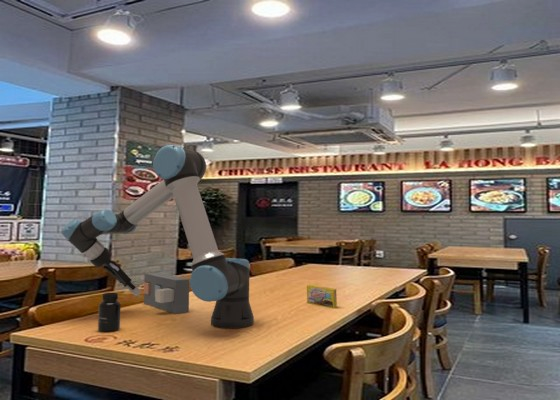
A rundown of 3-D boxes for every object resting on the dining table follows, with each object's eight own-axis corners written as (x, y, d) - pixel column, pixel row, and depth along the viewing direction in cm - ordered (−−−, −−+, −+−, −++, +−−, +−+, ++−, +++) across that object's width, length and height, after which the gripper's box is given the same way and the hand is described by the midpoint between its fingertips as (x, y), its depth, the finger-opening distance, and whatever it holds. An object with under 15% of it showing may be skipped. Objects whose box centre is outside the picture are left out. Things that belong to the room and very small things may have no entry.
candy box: (306, 303, 201) (306, 284, 201) (309, 303, 202) (309, 284, 203) (333, 309, 189) (333, 289, 189) (337, 308, 190) (337, 288, 191)
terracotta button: (148, 294, 194) (148, 283, 194) (143, 293, 197) (143, 282, 197) (165, 292, 199) (165, 282, 199) (160, 291, 202) (160, 280, 203)
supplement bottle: (96, 333, 146) (97, 295, 147) (99, 328, 153) (100, 292, 153) (119, 331, 148) (120, 294, 149) (120, 327, 155) (121, 291, 155)
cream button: (160, 303, 174) (160, 290, 174) (155, 301, 177) (155, 289, 178) (179, 300, 179) (179, 289, 179) (173, 299, 183) (174, 287, 183)
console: (175, 314, 176) (175, 280, 177) (143, 303, 198) (144, 273, 199) (188, 312, 180) (189, 279, 181) (156, 301, 202) (157, 272, 203)
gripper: (84, 259, 176) (125, 298, 186) (95, 262, 166) (138, 303, 176) (98, 245, 180) (138, 284, 189) (110, 247, 169) (151, 288, 179)
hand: (138, 293), depth 183 cm, fingers closed
